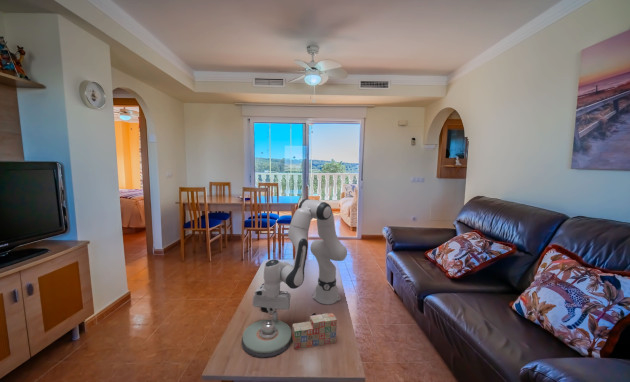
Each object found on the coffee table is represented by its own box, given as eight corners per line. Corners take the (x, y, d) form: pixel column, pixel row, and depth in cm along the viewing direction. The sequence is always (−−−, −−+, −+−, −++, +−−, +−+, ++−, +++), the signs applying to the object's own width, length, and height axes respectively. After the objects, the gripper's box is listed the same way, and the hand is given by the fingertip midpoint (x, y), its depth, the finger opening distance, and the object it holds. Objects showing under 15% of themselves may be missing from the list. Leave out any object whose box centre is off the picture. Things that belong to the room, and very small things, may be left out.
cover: (263, 326, 134) (263, 315, 133) (279, 329, 132) (279, 318, 131) (256, 337, 125) (256, 326, 124) (273, 340, 123) (274, 329, 123)
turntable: (255, 318, 143) (255, 307, 142) (297, 325, 138) (297, 314, 137) (233, 348, 119) (233, 335, 119) (282, 357, 114) (282, 344, 114)
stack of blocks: (294, 349, 122) (294, 325, 121) (291, 340, 128) (292, 317, 127) (336, 342, 128) (337, 319, 127) (331, 334, 134) (332, 312, 133)
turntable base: (251, 322, 142) (251, 319, 142) (295, 326, 140) (295, 323, 140) (233, 355, 117) (233, 352, 117) (286, 360, 115) (287, 357, 115)
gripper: (291, 289, 140) (291, 313, 141) (255, 286, 142) (255, 309, 143) (289, 294, 133) (288, 320, 135) (251, 291, 135) (251, 316, 137)
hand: (271, 314), depth 139 cm, fingers closed
